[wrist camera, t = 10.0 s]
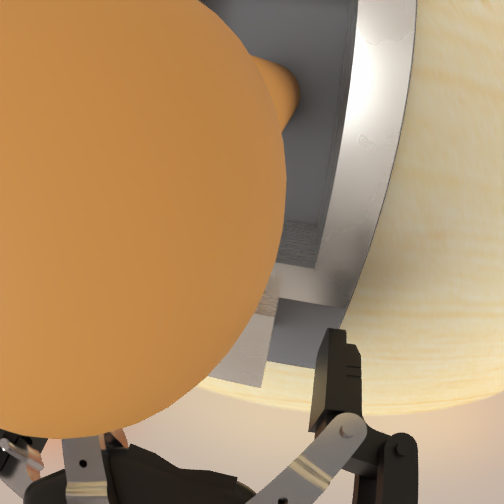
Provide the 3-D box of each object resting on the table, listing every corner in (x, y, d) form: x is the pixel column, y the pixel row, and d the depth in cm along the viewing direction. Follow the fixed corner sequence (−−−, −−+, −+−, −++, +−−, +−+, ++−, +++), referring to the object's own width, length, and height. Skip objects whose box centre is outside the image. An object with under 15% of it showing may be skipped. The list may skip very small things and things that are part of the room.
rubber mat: (25, 9, 8) (13, 10, 7) (410, -34, 5) (416, -41, 5) (70, 293, 21) (64, 301, 20) (321, 357, 18) (320, 369, 17)
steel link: (172, -32, 7) (112, -61, 3) (391, -21, 6) (426, -61, 2) (179, 305, 16) (150, 359, 13) (319, 333, 15) (313, 396, 12)
